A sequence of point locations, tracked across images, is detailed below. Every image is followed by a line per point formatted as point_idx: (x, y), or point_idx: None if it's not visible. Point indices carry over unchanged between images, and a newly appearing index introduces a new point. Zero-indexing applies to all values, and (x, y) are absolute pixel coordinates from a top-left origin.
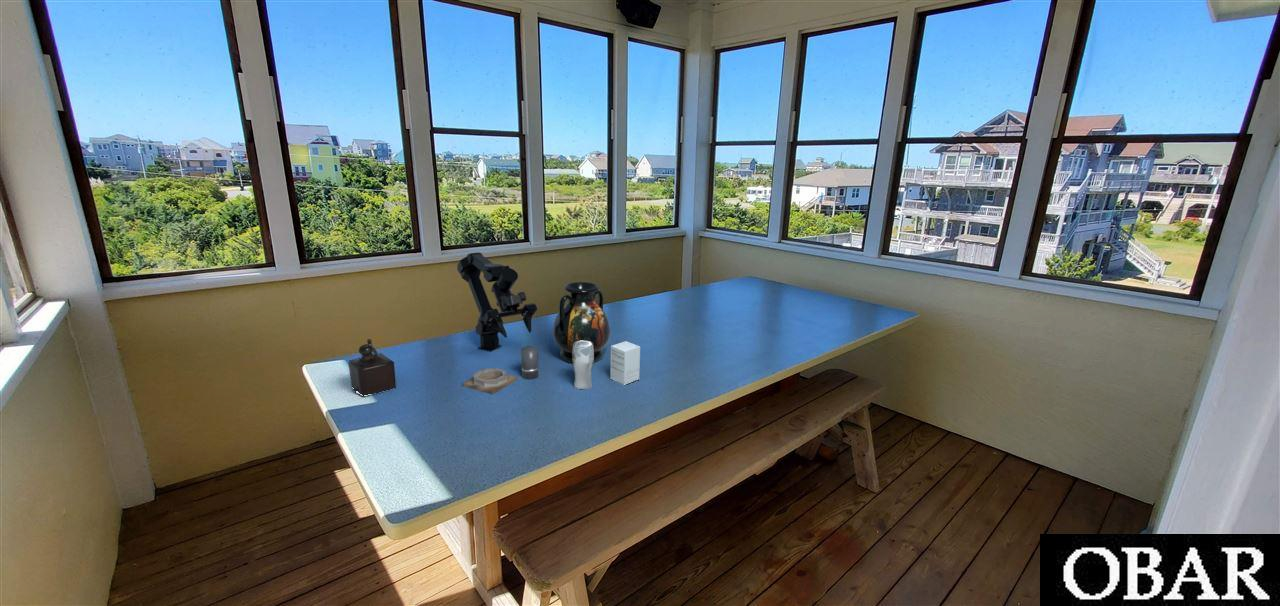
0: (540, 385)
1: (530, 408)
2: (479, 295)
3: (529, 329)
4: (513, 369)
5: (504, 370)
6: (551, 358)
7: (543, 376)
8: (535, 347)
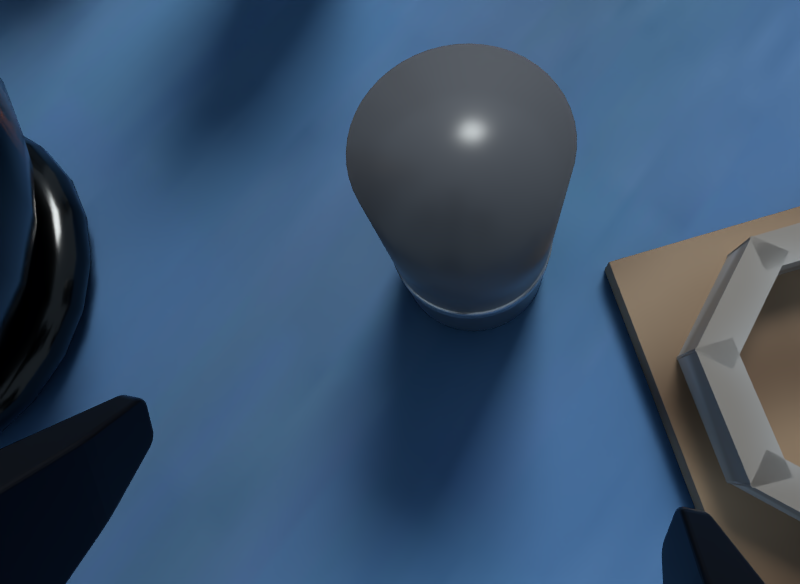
0: None
1: None
2: None
3: (111, 434)
4: (495, 487)
5: (705, 355)
6: None
7: None
8: (367, 138)
